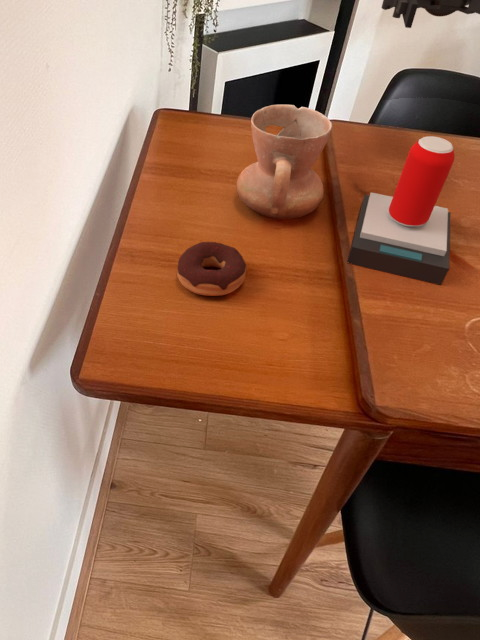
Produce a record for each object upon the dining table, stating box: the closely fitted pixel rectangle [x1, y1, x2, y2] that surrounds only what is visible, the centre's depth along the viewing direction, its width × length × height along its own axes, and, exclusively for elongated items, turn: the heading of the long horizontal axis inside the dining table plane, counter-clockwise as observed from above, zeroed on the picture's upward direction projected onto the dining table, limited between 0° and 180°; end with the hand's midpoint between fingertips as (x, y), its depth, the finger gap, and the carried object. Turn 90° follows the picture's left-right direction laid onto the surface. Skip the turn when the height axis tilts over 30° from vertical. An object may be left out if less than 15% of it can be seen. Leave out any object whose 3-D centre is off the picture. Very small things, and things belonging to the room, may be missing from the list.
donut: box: [176, 241, 247, 297], centre depth 75 cm, size 10×10×4 cm
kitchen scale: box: [346, 191, 452, 286], centre depth 83 cm, size 16×14×4 cm
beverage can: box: [389, 135, 456, 227], centre depth 77 cm, size 6×6×12 cm
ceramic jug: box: [236, 104, 333, 220], centre depth 85 cm, size 18×14×14 cm
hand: (463, 22), depth 70 cm, fingers open, 13 cm apart
